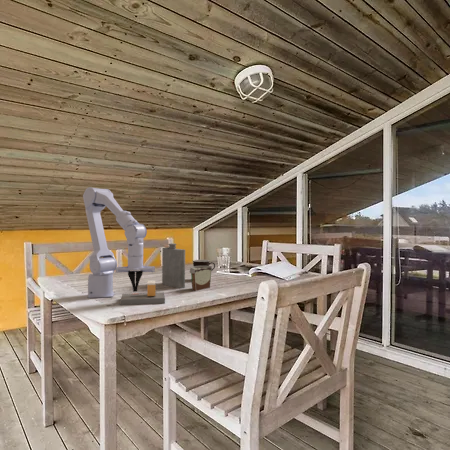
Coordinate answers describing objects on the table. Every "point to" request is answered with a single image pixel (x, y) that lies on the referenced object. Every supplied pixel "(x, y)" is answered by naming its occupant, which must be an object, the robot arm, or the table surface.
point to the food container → (200, 277)
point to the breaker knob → (151, 288)
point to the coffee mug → (202, 263)
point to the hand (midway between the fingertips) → (135, 291)
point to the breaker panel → (142, 298)
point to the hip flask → (173, 266)
